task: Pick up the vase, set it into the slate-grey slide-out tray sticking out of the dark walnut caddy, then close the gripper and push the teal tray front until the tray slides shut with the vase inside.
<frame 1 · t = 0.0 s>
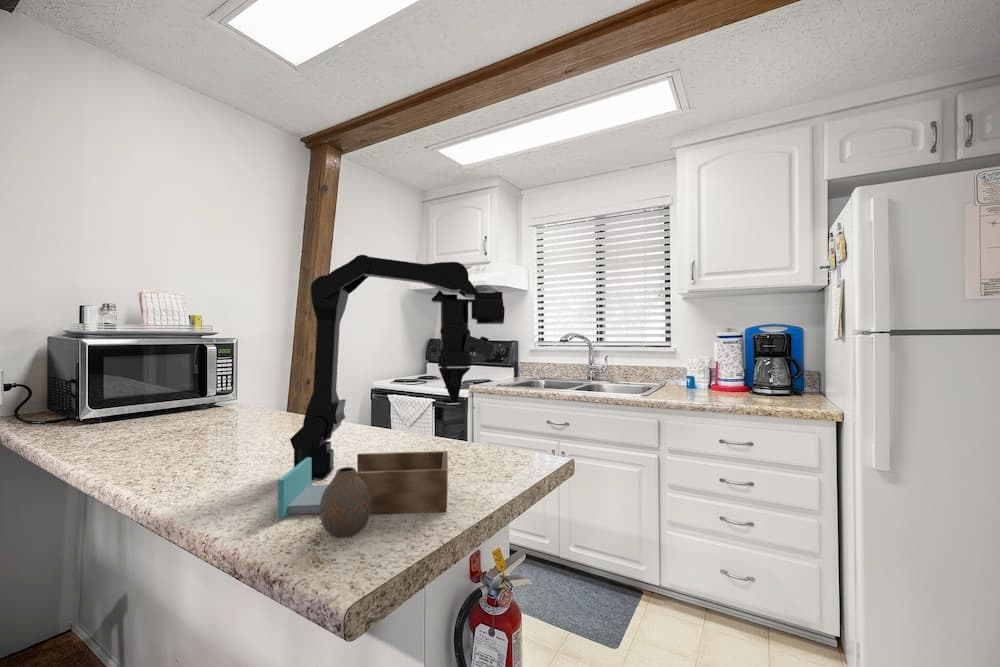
hand: (454, 399, 91), 15 cm above the countertop, fingers open, 9 cm apart
vase: (346, 533, 62), on the countertop
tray: (343, 483, 73), point 3 cm above the countertop, slide at 8.0 cm
caddy: (399, 500, 74), on the countertop
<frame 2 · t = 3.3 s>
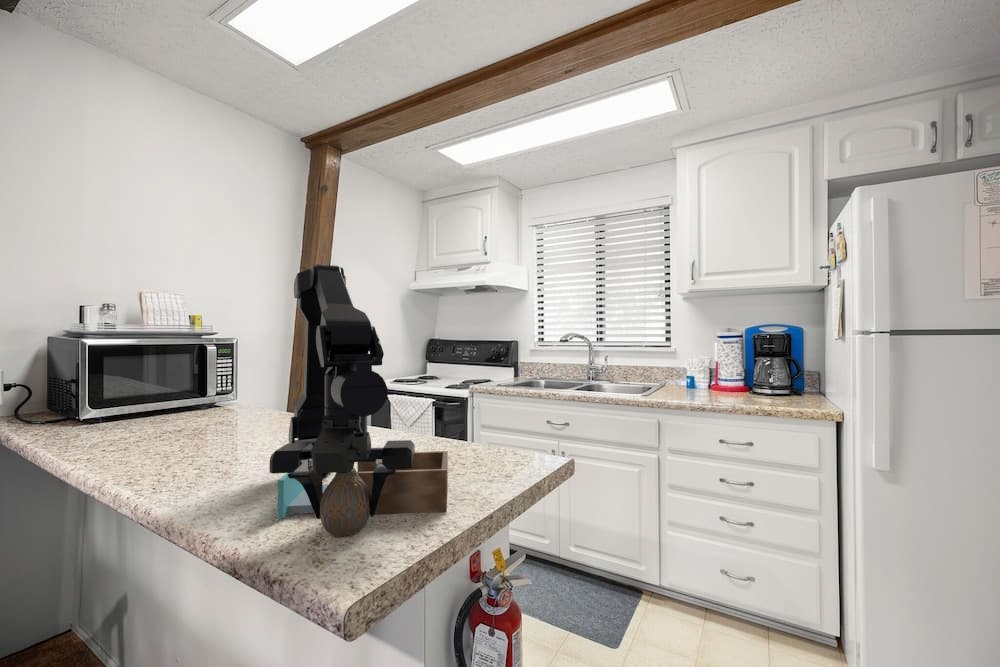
hand: (346, 516, 62), 2 cm above the countertop, fingers closed on vase, 7 cm apart
vase: (346, 532, 62), on the countertop, touching gripper
everything else where it was.
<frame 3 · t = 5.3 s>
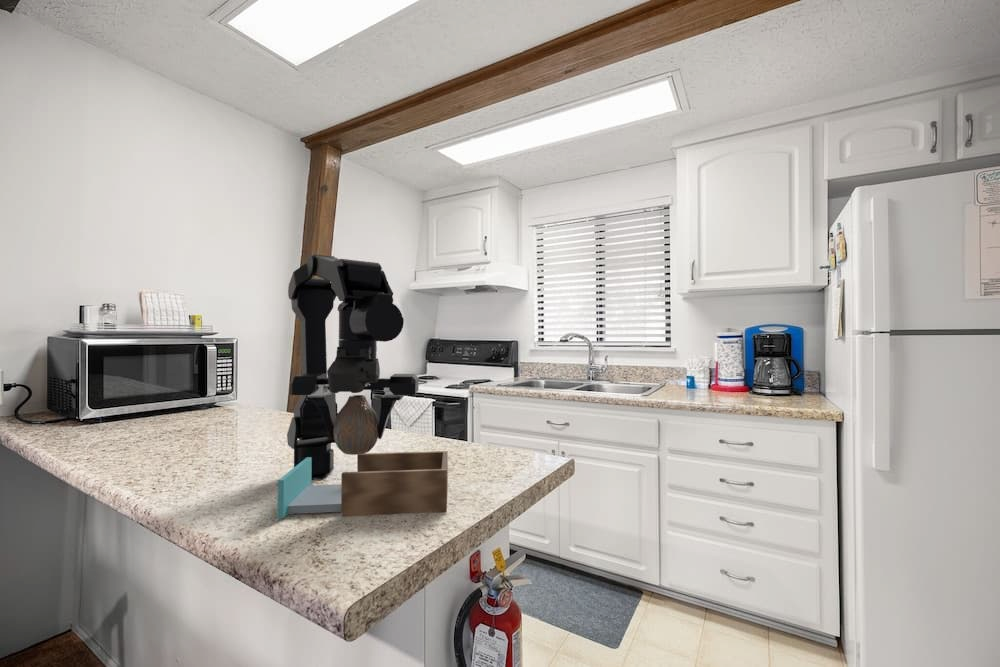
hand: (356, 438, 69), 11 cm above the countertop, fingers closed on vase, 7 cm apart
vase: (356, 452, 69), point 9 cm above the countertop, touching gripper
everything else where it was.
when the fingers open (5 cm above the countertop, at t = 7.4 s): vase drops 1 cm, resting on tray.
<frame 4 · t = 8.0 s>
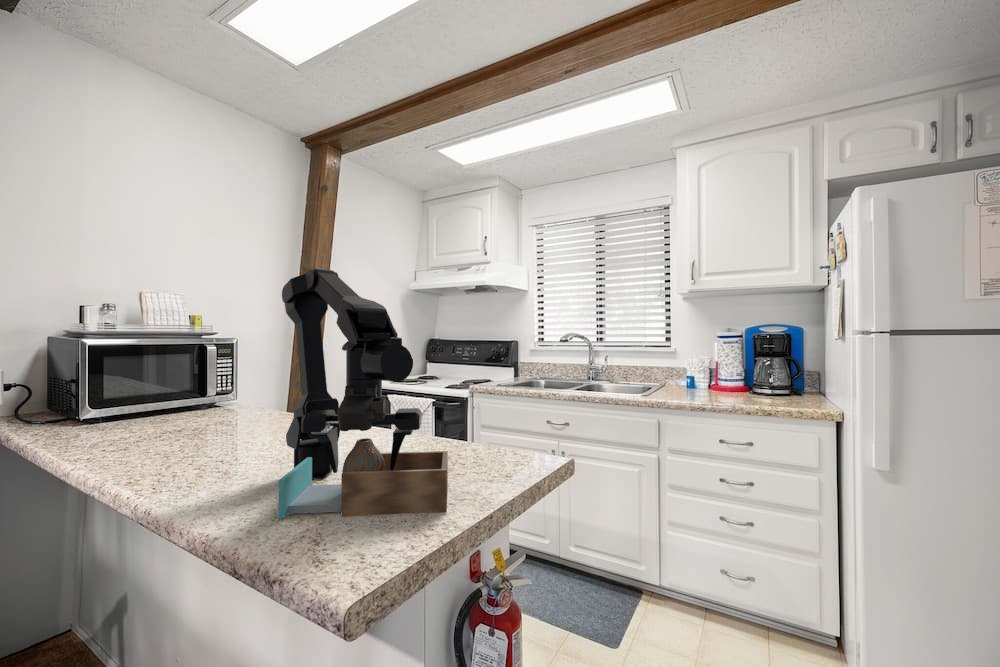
hand: (364, 471, 73), 5 cm above the countertop, fingers open, 9 cm apart
vase: (364, 493, 73), point 1 cm above the countertop, touching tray
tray: (344, 483, 73), point 3 cm above the countertop, slide at 7.9 cm, touching vase
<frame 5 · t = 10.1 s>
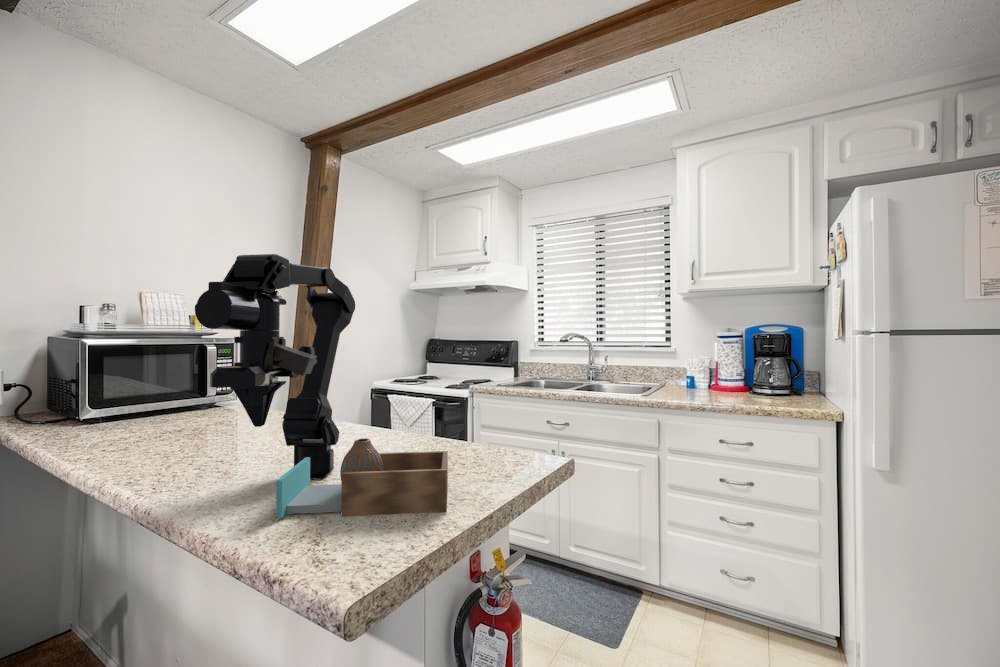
hand: (259, 426, 72), 13 cm above the countertop, fingers closed
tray: (342, 483, 73), point 3 cm above the countertop, slide at 8.2 cm, touching vase
everything else where it was.
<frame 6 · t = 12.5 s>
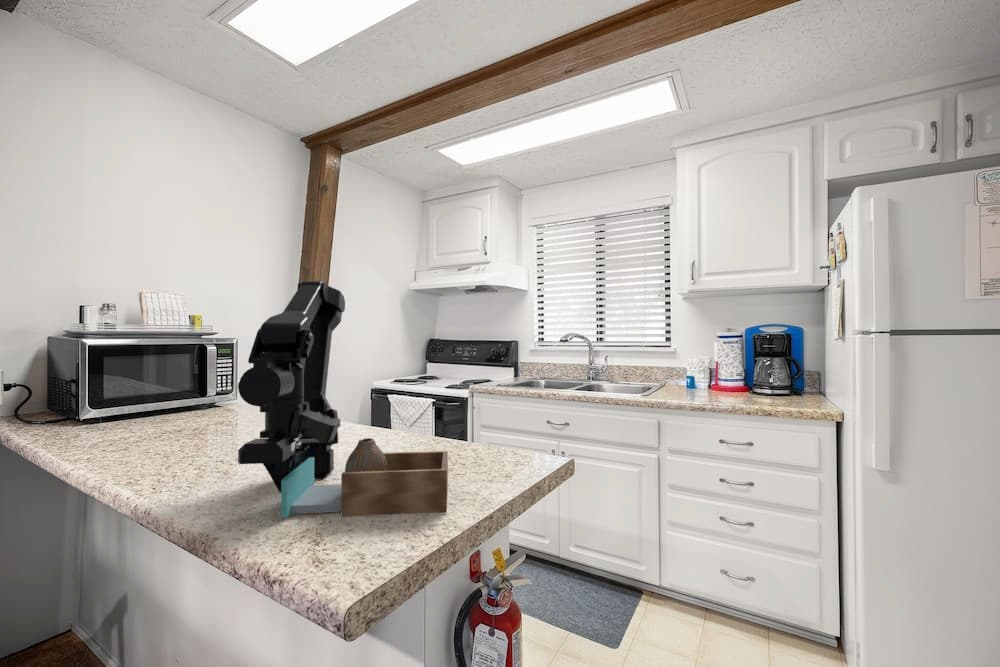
hand: (284, 492, 72), 2 cm above the countertop, fingers closed
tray: (346, 483, 73), point 3 cm above the countertop, slide at 7.5 cm, touching gripper, vase
everything else where it was.
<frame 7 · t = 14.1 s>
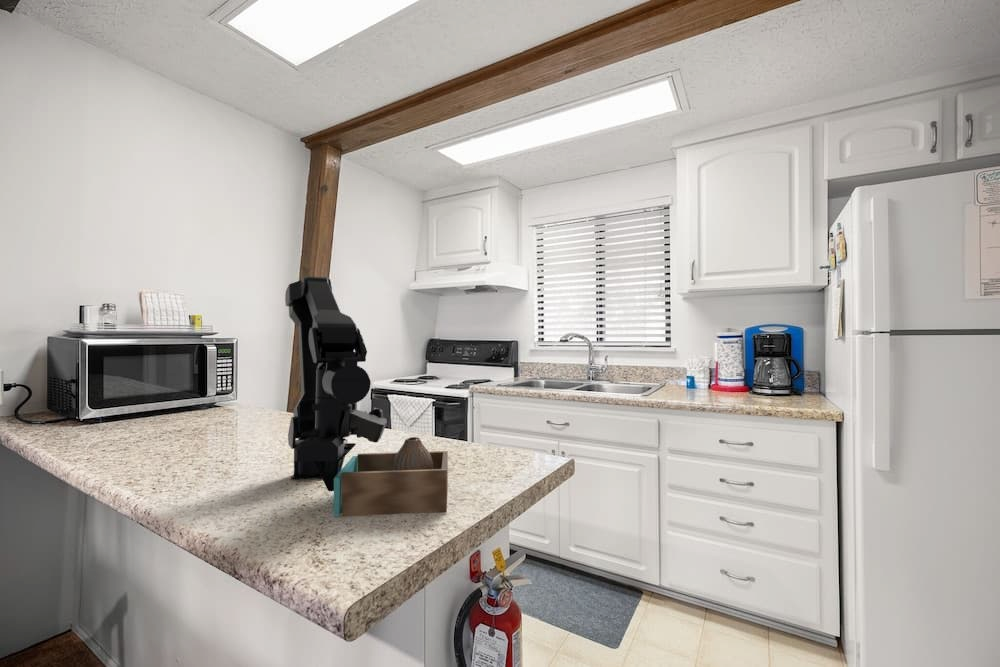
hand: (332, 490, 73), 2 cm above the countertop, fingers closed, pressing on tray
vase: (412, 491, 74), point 1 cm above the countertop, touching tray
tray: (393, 481, 74), point 3 cm above the countertop, slide at -0.1 cm, touching gripper, vase
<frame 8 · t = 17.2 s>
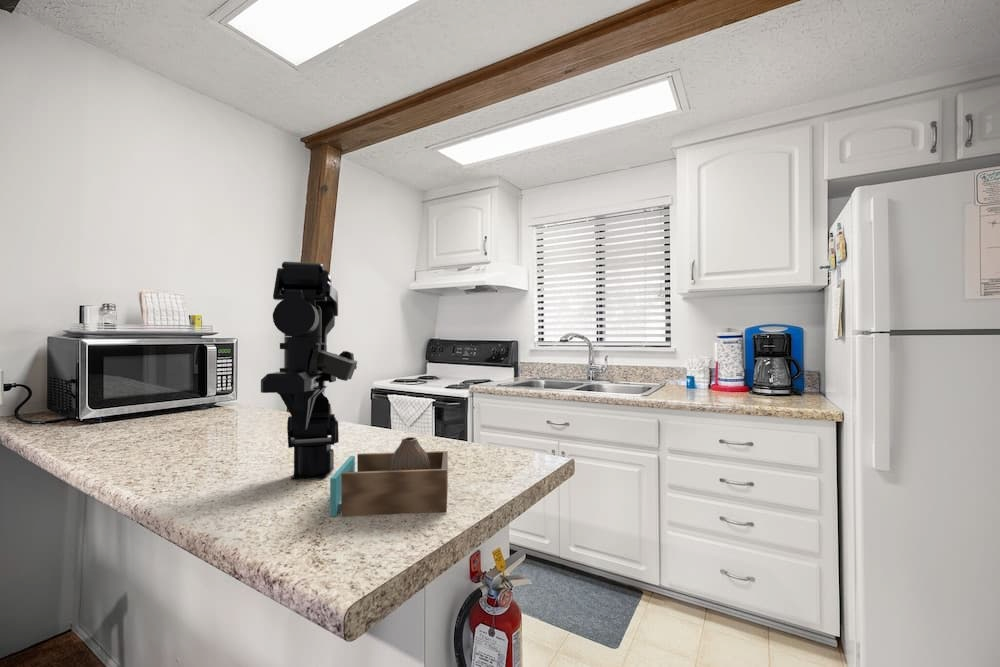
hand: (302, 429, 73), 12 cm above the countertop, fingers closed
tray: (389, 481, 74), point 3 cm above the countertop, slide at 0.4 cm, touching vase
everything else where it was.
at the end: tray slide at 0.4 cm; vase inside the target area on the caddy (1.2 cm from its centre), point 1.3 cm above the caddy's base; vase tilted 0° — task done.
